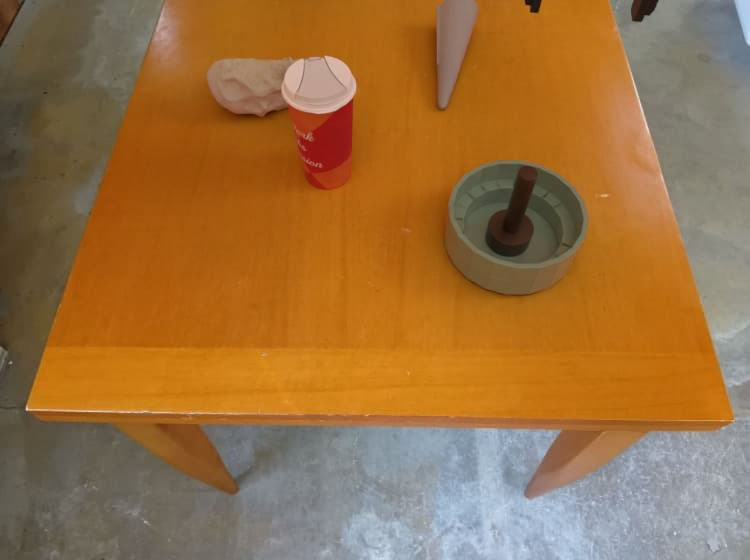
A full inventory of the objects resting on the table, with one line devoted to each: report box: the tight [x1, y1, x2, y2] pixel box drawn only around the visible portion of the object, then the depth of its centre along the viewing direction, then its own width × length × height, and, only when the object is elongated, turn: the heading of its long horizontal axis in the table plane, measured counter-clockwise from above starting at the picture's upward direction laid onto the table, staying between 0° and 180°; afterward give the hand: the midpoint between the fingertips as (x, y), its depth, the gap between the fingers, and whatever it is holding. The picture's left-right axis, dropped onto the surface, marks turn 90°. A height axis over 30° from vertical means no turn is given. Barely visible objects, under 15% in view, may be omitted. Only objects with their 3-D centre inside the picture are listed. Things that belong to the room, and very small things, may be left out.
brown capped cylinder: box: [485, 166, 538, 257], centre depth 63 cm, size 5×5×11 cm
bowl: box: [443, 159, 590, 295], centre depth 65 cm, size 15×15×6 cm
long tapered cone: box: [436, 0, 480, 111], centre depth 83 cm, size 6×6×19 cm
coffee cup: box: [281, 55, 357, 191], centre depth 68 cm, size 8×8×15 cm
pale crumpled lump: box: [206, 56, 309, 118], centre depth 78 cm, size 15×7×15 cm
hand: (584, 12), depth 49 cm, fingers open, 8 cm apart
